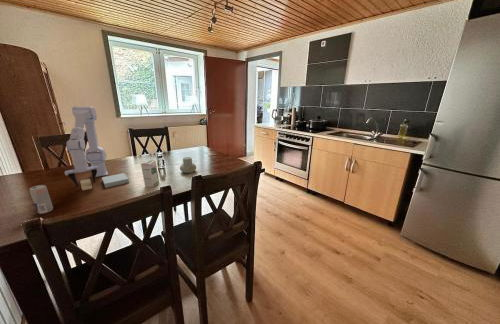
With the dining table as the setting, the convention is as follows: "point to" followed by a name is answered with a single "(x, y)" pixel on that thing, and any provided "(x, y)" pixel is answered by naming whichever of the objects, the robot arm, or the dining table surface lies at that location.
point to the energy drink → (41, 199)
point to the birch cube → (86, 184)
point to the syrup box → (150, 173)
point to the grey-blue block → (115, 180)
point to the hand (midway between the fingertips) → (86, 183)
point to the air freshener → (187, 165)
